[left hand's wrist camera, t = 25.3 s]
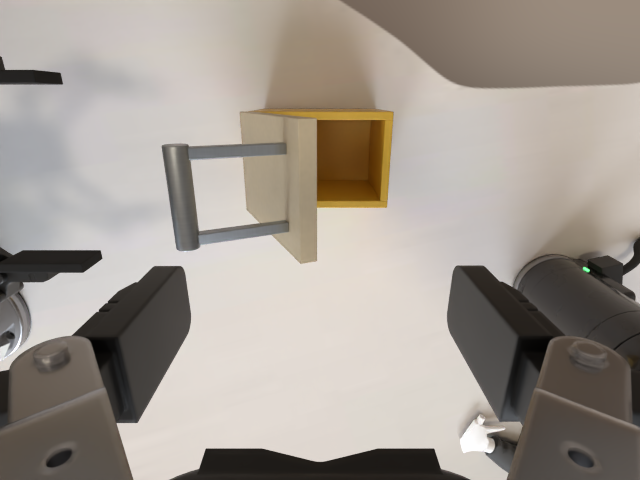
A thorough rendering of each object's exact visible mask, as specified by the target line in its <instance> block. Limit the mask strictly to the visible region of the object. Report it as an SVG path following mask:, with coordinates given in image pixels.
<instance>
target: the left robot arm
mask: <svg viewBox="0 0 640 480" xmlns="http://www.w3.org/2000/svg"><path fill="white" fill-rule="evenodd" d="M633 249H634V256H633V258H632V259H631V260H630V261H629V262H628V263H627V264H625V265H624V266H623V263H621V262H619V261H617V260H615V259H613V258H612V257H610V256H603V257H598V258H594V259H589V260H588V264H587V263H585V262H584V261H582V260H580V259H577V260H572V259H570V258H568V257H565V256H562V255H548V256H543V257H540V258H538V259H536V260H534V261H532V262H530V263H529V264H528V265H526V266H525V267H524V268H523V269H522V270H521V272H520V273H519V274H518V276H517V278H516V280H515V283H514V286H513V287H511V286H509V285H508V284H506V283H504V282H499V281H498V280H497V279H496V278H495V277H494V276H493V274H492V273H491V272H490V271H489V270H488V269H487V268H486V267H484V266H456V267H455V268H454V271H453V275H452V282H451V290H450V297H449V304H448V311H447V322H448V328H449V331H450V334H451V336H452V337H453V339H454V341H455V343H456V344H457V346H458V348H459V350H460V352H461V353H462V355H463V357H464V359H465V361H466V362H467V364H468V366H469V368H470V370H471V371H472V373H473V375H474V377H475V378H476V380H477V382H478V384H479V386H480V387H481V389H482V391H483V393H484V395H485V396H486V398H487V400H488V402H489V404H490V405H491V407H492V409H493V411H494V412H495V414H496V416H497V418H498V420H499V421H500V422H521V424H522V425H523V427H522V431H521V434H520V437H519V441H518V444H517V447H516V451H515V454H514V457H513V461H512V464H511V467H510V471H509V474H508V477H507V480H640V304H639V303H637V302H636V301H635V299H636V296H635V293H634V292H633V291H631V290H630V289H628V288H626V287H625V286H623V285H622V278H623V275H625V274H626V273H628V272H629V271H631V270H632V269H634V268H635V267H636V266H637V265H638V264H639V263H640V239H639V240H637V241H636V242H635V243H634V246H633ZM190 323H191V311H190V304H189V297H188V290H187V283H186V276H185V272H184V269H183V268H182V267H181V266H154V267H153V268H152V269H151V270H150V271H149V272H148V273H147V274H146V275H145V276H144V277H143V278H142V279H141V280H140V281H139V282H135V283H133V284H131V285H129V286H127V287H126V288H124V289H122V290H120V291H118V292H117V293H116V294H115V295H114V296H113V297H112V298H111V299H110V300H109V301H108V303H106V304H105V305H104V306H103V307H102V308H100V309H99V312H96V313H95V314H94V315H93V316H92V317H91V318H90V319H89V320H88V321H87V322H86V323H85V324H84V325H83V326H81V327H80V328H79V329H78V330H77V331H76V332H75V333H74V334H73V335H72V336H65V337H59V338H55V339H51V340H48V341H45V342H42V343H40V344H38V345H35V346H33V347H31V348H30V349H28V350H26V351H25V352H23V353H22V354H20V355H19V356H18V357H17V358H16V359H15V360H14V361H13V362H12V364H11V366H10V369H9V370H6V371H1V372H0V480H133V477H132V474H131V471H130V467H129V464H128V461H127V457H126V454H125V451H124V447H123V444H122V441H121V437H120V434H119V431H118V427H117V424H116V423H138V421H139V419H140V417H141V416H142V414H143V412H144V410H145V409H146V407H147V405H148V403H149V402H150V400H151V398H152V396H153V395H154V393H155V391H156V389H157V387H158V386H159V384H160V382H161V380H162V379H163V377H164V375H165V373H166V372H167V370H168V368H169V366H170V364H171V363H172V361H173V359H174V357H175V356H176V354H177V352H178V350H179V349H180V347H181V345H182V343H183V341H184V340H185V338H186V336H187V334H188V332H189V329H190ZM170 480H470V479H468V478H465V477H463V476H461V475H458V474H455V473H452V472H449V471H446V470H442V469H441V468H440V465H439V462H438V459H437V456H436V453H435V450H434V449H375V450H371V451H366V452H362V453H358V454H354V455H350V456H346V457H342V458H338V459H334V460H330V461H325V462H315V461H310V460H306V459H302V458H298V457H294V456H290V455H286V454H282V453H278V452H274V451H269V450H265V449H206V450H205V453H204V456H203V459H202V462H201V465H200V468H199V469H198V470H194V471H191V472H188V473H185V474H182V475H179V476H177V477H175V478H172V479H170Z"/></svg>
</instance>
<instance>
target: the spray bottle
mask: <svg viewBox="0 0 640 480" xmlns="http://www.w3.org/2000/svg"><path fill="white" fill-rule="evenodd" d="M485 419H486V418H485V416H483V415H482V414H480V415H479V416H478V418H477V419H476V420H474V421H473V422H472V423H471V425H470V426H469V428H468V429H467V430H466V432H465V433H464V435H463V436H462V438H461V439H460V441H461V447H462V450H463V452H464V453H465V452H468V451H485V453H486V455H487V456H488V457H489V458H490V459H491V460H493V461H494V462H495V463H496V464H497V465H498V466H500V467H501V468H502V469H504V470H505V471H507V472H508V473H509V471H510V467H511V464H512V461H513V457H514V454H515V451H516V447H517V446H516V445H513V444H510V443H509V442H506V441H501V439H500V438H499V437H497V436H492V437H491V438H489V437H487V435H486V434H488V433H492V432H497V431H502V430H505V427H504V426H484V425H483V422H484V421H485Z"/></svg>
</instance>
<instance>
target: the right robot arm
mask: <svg viewBox="0 0 640 480" xmlns="http://www.w3.org/2000/svg"><path fill="white" fill-rule="evenodd" d="M0 84H63V82H62V78H61V73H56V72H47V71H37V70H5V68H4V64H3V60H2V57H0ZM101 259H102V255H101V250H23V251H21V252H19V253H17V254H15V255H12V254H10V253H8V252H7V251H5V250H4V249H2V248H0V361H2V360H3V359H4V358H6V357H8V356H9V355H10V354H12V353H13V352H14V351H15V350H16V349H18V348H19V347H20V346H21V345H22V344H23V343H24V342H25V340H26V339H27V337H28V335H29V332H30V316H29V312H28V309H27V307H26V304H25V303H24V301H23V299H22V298H21V296H20V295H19V294H18V292H19V291H20V290H22V289H23V283H22V282H45V281H47V280H49V279H51V278H52V277H54V276H55V275H57V274H58V273H83V272H85V271H86V270H87V269H89V268H90V267H92V266H93V265H94V264H96V263H97V262H98V261H100V260H101Z"/></svg>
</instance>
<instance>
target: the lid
mask: <svg viewBox="0 0 640 480" xmlns="http://www.w3.org/2000/svg"><path fill="white" fill-rule="evenodd" d="M240 122H241V136H242V144H234V145H212V146H190V147H189V145H188V144H166V145H162V152H163V159H164V166H165V173H166V180H167V187H168V194H169V200H170V207H171V214H172V221H173V228H174V235H175V242H176V248H177V250H179V251H193V250H196V249H198V248H200V246H201V245H204V244H211V243H218V242H225V241H232V240H238V239H245V238H252V237H259V236H266V235H272V236H273V237H274V238H275V239H276V240H277V241H278V242H279V243H280V244H281V245H282V246H283V247H284V248H285V249H286V250H287V251H288V252H289V253H290V254H291V255H292V256H293V257H294V258H295V259H296V260H297V261H298V262H299V263H300V264H303V263H309V262H314V261H317V118H311V117H301V116H291V115H281V114H272V113H262V112H240ZM237 157H243V164H244V179H245V193H246V207H247V211H248V212H249V213H250V214H251V215H252V216H253V217H254V218H255V219H256V220H257V221H258V222H259V224H251V225H244V226H236V227H228V228H221V229H213V230H206V231H199V228H198V220H197V212H196V203H195V195H194V187H193V178H192V170H191V162H190V160H203V159H220V158H237Z"/></svg>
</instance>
